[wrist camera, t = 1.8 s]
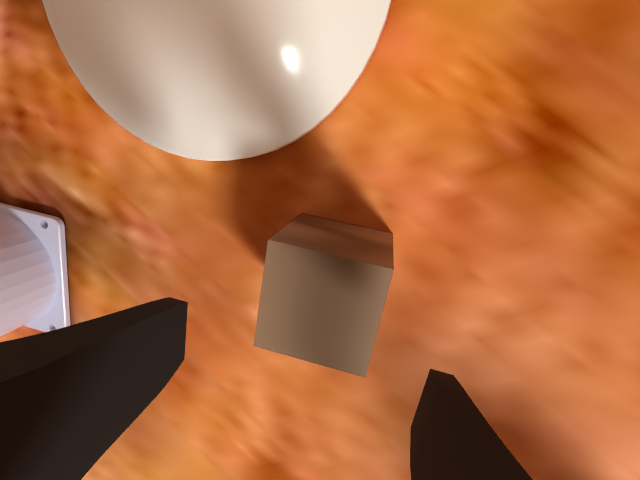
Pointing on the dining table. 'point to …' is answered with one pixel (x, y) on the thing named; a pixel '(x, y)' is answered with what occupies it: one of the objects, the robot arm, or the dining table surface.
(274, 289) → the walnut block
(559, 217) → the dining table surface
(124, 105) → the white plate
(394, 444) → the dining table surface
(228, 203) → the dining table surface
